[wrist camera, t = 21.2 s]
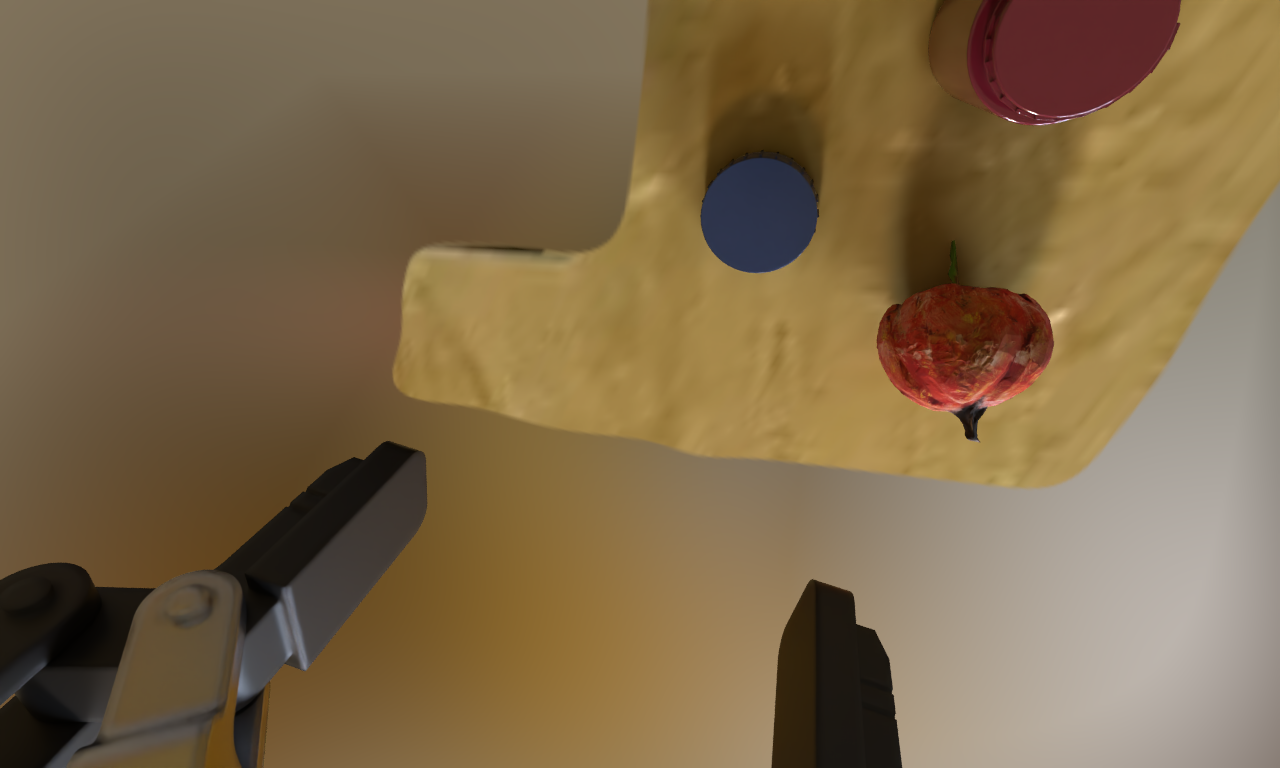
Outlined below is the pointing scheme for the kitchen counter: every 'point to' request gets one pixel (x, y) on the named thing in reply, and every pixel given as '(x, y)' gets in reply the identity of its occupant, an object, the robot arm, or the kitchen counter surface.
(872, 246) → the kitchen counter surface
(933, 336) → the pomegranate
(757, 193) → the lid
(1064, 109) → the jar
